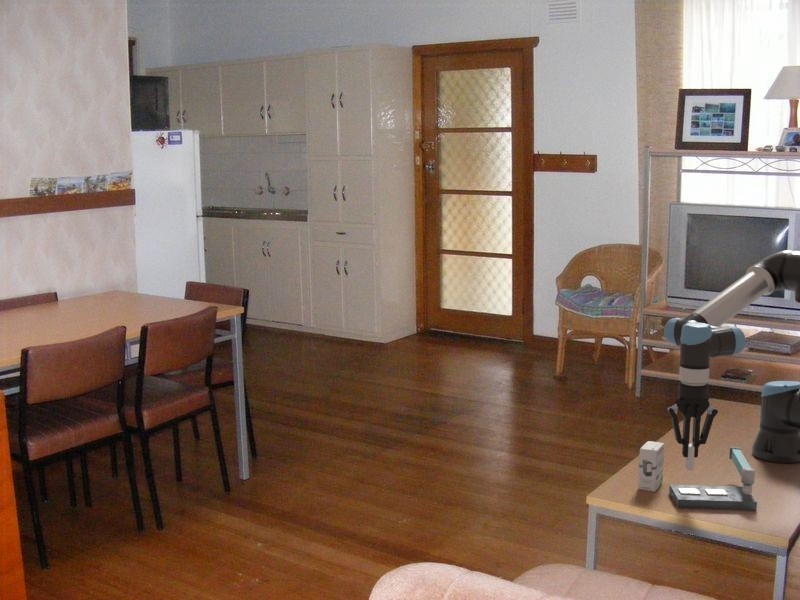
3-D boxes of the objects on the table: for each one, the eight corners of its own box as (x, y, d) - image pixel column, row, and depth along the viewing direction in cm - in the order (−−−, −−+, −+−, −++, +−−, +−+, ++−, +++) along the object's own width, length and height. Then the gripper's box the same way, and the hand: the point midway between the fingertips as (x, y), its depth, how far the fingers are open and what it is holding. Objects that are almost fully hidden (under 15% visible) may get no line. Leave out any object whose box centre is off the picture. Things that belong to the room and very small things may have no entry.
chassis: (745, 495, 255) (746, 476, 255) (757, 511, 245) (758, 491, 244) (669, 493, 257) (670, 474, 256) (677, 508, 246) (678, 488, 245)
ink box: (645, 479, 267) (647, 439, 266) (663, 482, 265) (665, 442, 263) (637, 489, 260) (639, 448, 258) (655, 492, 258) (657, 450, 256)
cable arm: (755, 484, 247) (756, 471, 247) (742, 484, 248) (743, 471, 247) (740, 458, 268) (741, 446, 268) (728, 458, 269) (729, 446, 268)
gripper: (715, 379, 250) (710, 464, 254) (665, 378, 251) (661, 463, 254) (723, 386, 242) (718, 474, 246) (671, 385, 243) (667, 473, 247)
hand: (689, 468), depth 250 cm, fingers closed
